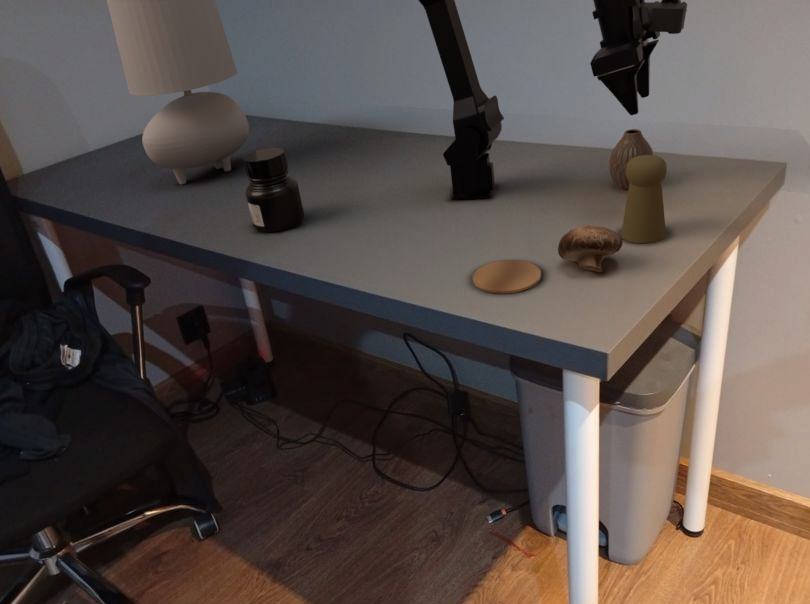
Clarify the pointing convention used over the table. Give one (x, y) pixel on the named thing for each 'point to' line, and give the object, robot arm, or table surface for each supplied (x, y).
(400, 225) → the table surface
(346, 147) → the table surface
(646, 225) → the pepper shaker
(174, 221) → the table surface
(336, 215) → the table surface
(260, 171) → the ink bottle
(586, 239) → the mushroom
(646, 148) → the vase
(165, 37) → the table lamp
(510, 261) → the coaster
